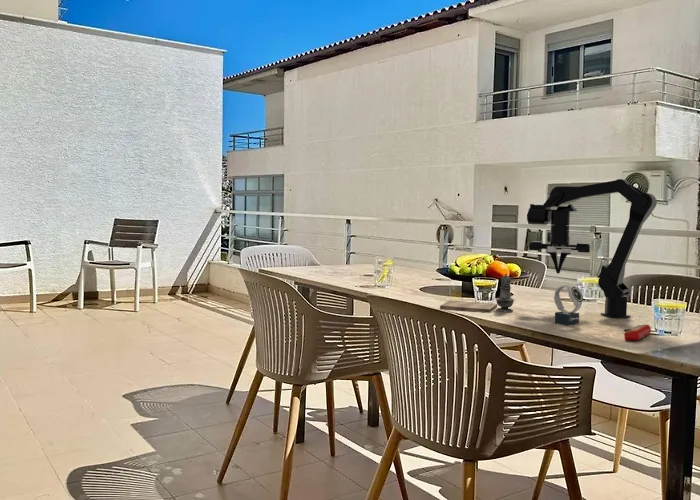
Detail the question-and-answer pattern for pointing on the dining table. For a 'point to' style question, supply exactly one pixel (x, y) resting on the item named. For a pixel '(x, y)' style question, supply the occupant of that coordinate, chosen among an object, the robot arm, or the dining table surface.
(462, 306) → the walnut board
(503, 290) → the dark grey tall piece
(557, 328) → the dining table surface
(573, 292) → the watch
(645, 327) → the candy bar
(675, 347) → the dining table surface
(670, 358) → the dining table surface
